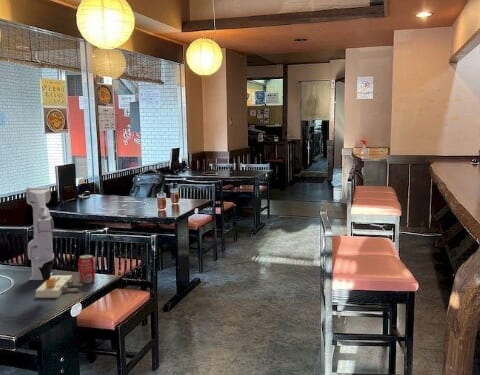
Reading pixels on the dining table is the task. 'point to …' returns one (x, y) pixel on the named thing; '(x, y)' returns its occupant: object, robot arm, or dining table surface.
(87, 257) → the soda can
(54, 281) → the knob
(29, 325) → the dining table surface
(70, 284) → the white peg legs
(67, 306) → the dining table surface
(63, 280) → the slider switch box
